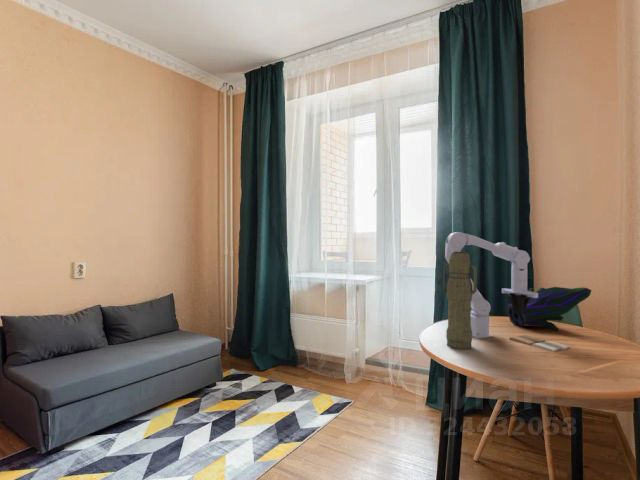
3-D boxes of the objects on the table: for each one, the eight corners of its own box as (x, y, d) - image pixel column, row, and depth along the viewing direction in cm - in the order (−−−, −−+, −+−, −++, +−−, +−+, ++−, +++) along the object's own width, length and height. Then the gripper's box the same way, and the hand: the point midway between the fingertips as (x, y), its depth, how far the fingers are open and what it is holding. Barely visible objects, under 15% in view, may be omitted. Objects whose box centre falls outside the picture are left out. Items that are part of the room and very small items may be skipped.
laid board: (552, 353, 130) (552, 349, 130) (531, 347, 137) (531, 343, 137) (569, 349, 135) (569, 346, 135) (547, 343, 142) (547, 340, 142)
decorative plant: (512, 343, 175) (573, 326, 175) (537, 335, 151) (608, 315, 151) (493, 301, 183) (552, 285, 183) (514, 287, 159) (581, 269, 160)
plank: (528, 346, 138) (529, 343, 138) (509, 340, 145) (509, 337, 145) (545, 343, 143) (545, 340, 143) (525, 337, 150) (526, 334, 150)
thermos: (476, 351, 132) (477, 252, 132) (441, 347, 136) (442, 252, 136) (476, 344, 140) (477, 251, 140) (443, 341, 145) (444, 251, 144)
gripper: (543, 281, 146) (542, 315, 146) (509, 277, 158) (509, 309, 159) (531, 282, 142) (531, 317, 142) (498, 278, 155) (498, 310, 155)
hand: (519, 313), depth 150 cm, fingers closed
